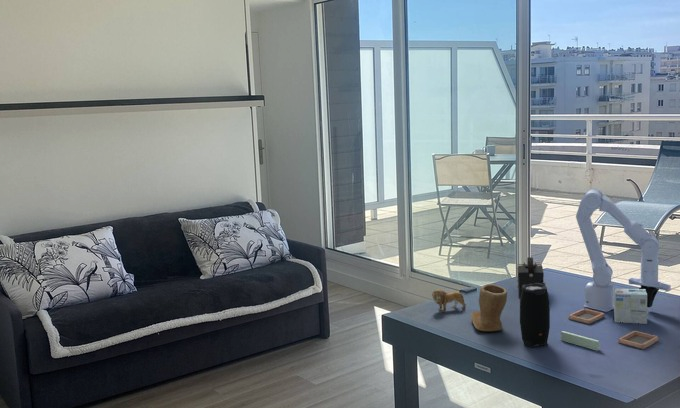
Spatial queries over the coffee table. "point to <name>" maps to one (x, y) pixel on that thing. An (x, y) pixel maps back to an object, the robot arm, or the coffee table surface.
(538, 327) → the portable speaker
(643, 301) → the light bulb box
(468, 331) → the coffee table surface
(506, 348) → the coffee table surface
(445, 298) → the lion figurine
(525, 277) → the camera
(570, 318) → the square frames and block
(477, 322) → the tan boot
